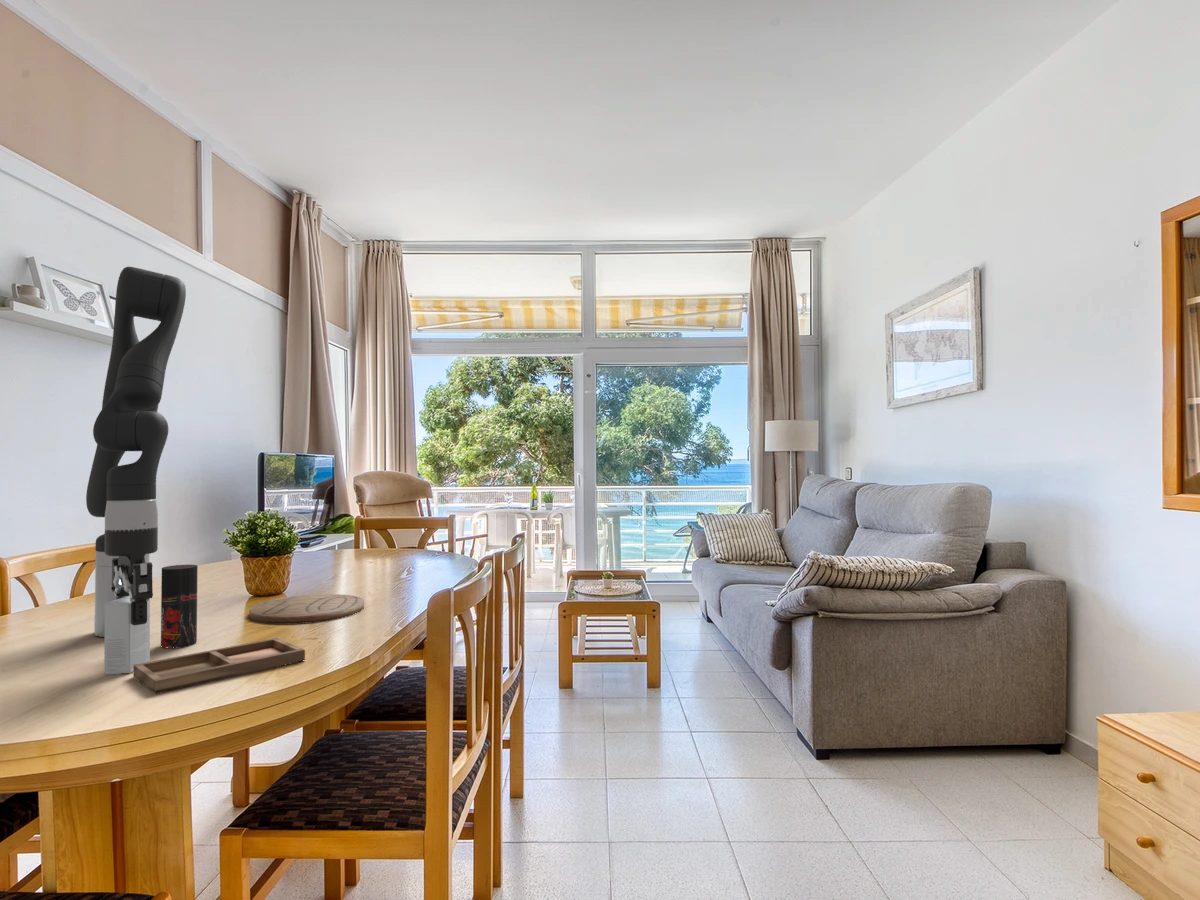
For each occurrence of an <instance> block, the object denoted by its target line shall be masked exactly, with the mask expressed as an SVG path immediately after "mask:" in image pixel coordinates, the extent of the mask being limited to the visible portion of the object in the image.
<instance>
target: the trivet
mask: <svg viewBox="0 0 1200 900" xmlns="http://www.w3.org/2000/svg"><path fill="white" fill-rule="evenodd" d="M364 608H365V600H364V598H362V597H361V596H356V595H351V594H350V595H349V594H338V593H337V594H336V593H323V594H322V593H320V594H319V593H318V594H304V595H297V596H296V595H294V596H288V597H287V596H286V597H281V598H274V599H270V600H266V601H262V602H259V603H257V604H254V605H253V606H251V607H250V608H249V610H248V611H249V612H248V616H249V619H251V621H254V620H255V622H257V621H258V622H259V623H263V622H266V623H265V624H273V623H298V624H306V623H305V622H312V623H317V622H318V621H320V622H326V621H327V620H328V621H331V620H332V619H333V620H337V618H339V619H343V618H346V617H345V616H347V617H350V616H349V615H351V616H354V615H356V614H358V613H357V612H359V613H360V611H361V610H362V609H363V610H364ZM363 610H362V611H363ZM362 611H361V612H362ZM355 613H356V614H355ZM353 614H354V615H353ZM342 617H343V618H342ZM258 622H257V623H258ZM303 622H304V623H303Z"/></svg>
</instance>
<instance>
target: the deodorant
mask: <svg viewBox="0 0 1200 900" xmlns="http://www.w3.org/2000/svg"><path fill="white" fill-rule="evenodd" d="M198 566H199V565H197V564H176V565H167V566H164V567H161V587H160V588H161V591H160V592H161V595H160V596H161V597H160V598H161V599H160V602H161V603H160V610H161V611H160V647H161V646H162V647H168V648H167V649H177V648H176V647H181V648H185V647H184V646H187V647H190V646H189V645H191V646H193V645H195V644H197V643H196V642H198V638H197V636H198V633H197V632H198V628H197V627H198V571H199V570H198ZM162 647H161V648H162ZM173 647H174V648H173Z"/></svg>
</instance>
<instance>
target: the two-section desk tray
mask: <svg viewBox="0 0 1200 900" xmlns="http://www.w3.org/2000/svg"><path fill="white" fill-rule="evenodd" d="M303 660H306V650H305V649H304V648H302V647H299V646H297V645H294V644H292V643H290V642H288V641H285V640H283V639H280V638H278V637H274V638H268V639H263V640H259V641H252V642H248V643H242V644H235V645H233V646H225V647H221V648H216V649H210V650H205V651H200V652H194V653H190V654H183V655H179V656H173V657H169V658H163V659H158V660H152V661H150V662H146V663H141V664H136V665H134V671H133V678H134V677H135V678H136V679H135V678H134V679H135V680H137V681H138V680H139V681H140V682H139V681H138V682H139V683H141V685H143V684H144V685H145V688H146V689H148V690H150V691H151V692H152V693H153V694H155V695H158V694H162V693H166V691H167V692H170V691H171V692H172V691H175V690H176V691H177V690H179V689H180V690H181V689H184V688H189V687H194V686H198V685H203V684H206V683H207V682H208V683H211V682H210V681H212V682H215V680H217V681H220V679H221V680H224V679H225V678H226V679H230V678H234V676H235V677H239V676H244V675H247V673H248V674H251V673H252V672H253V673H257V672H261V670H262V671H266V670H269V669H268V668H271V669H274V668H273V667H275V668H278V667H277V666H280V665H284V666H286V665H285V664H289V663H293V664H295V663H294V662H298V661H302V662H304V661H303ZM298 663H299V662H298ZM289 665H290V664H289ZM280 667H281V666H280ZM265 669H266V670H265ZM256 671H257V672H256ZM243 674H244V675H243ZM238 675H239V676H238ZM229 677H230V678H229ZM226 679H225V680H226ZM193 685H194V686H193ZM161 692H162V693H161ZM157 693H158V694H157Z"/></svg>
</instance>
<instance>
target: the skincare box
mask: <svg viewBox="0 0 1200 900" xmlns="http://www.w3.org/2000/svg"><path fill="white" fill-rule="evenodd" d="M150 600H151V598H149V601H147V622H146V623H145V624H141V625H132V624H131V601H130V596H125V597H122V598H119V599H116V600H113V601H110V602H107V603H105V604H104V618H105V619H104V637H103V638H104V640H103V641H104V645H103V646H104V647H103V648H104V649H103V650H104V652H103V653H104V659H103V661H104V674H105V675H122V674H121V673H129V674H131V673H134V665H136V664H141V663H146V662H151V634H150V633H151V625H150V624H151V619H150V618H151V615H150V614H151V612H150V611H151V601H150Z"/></svg>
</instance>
